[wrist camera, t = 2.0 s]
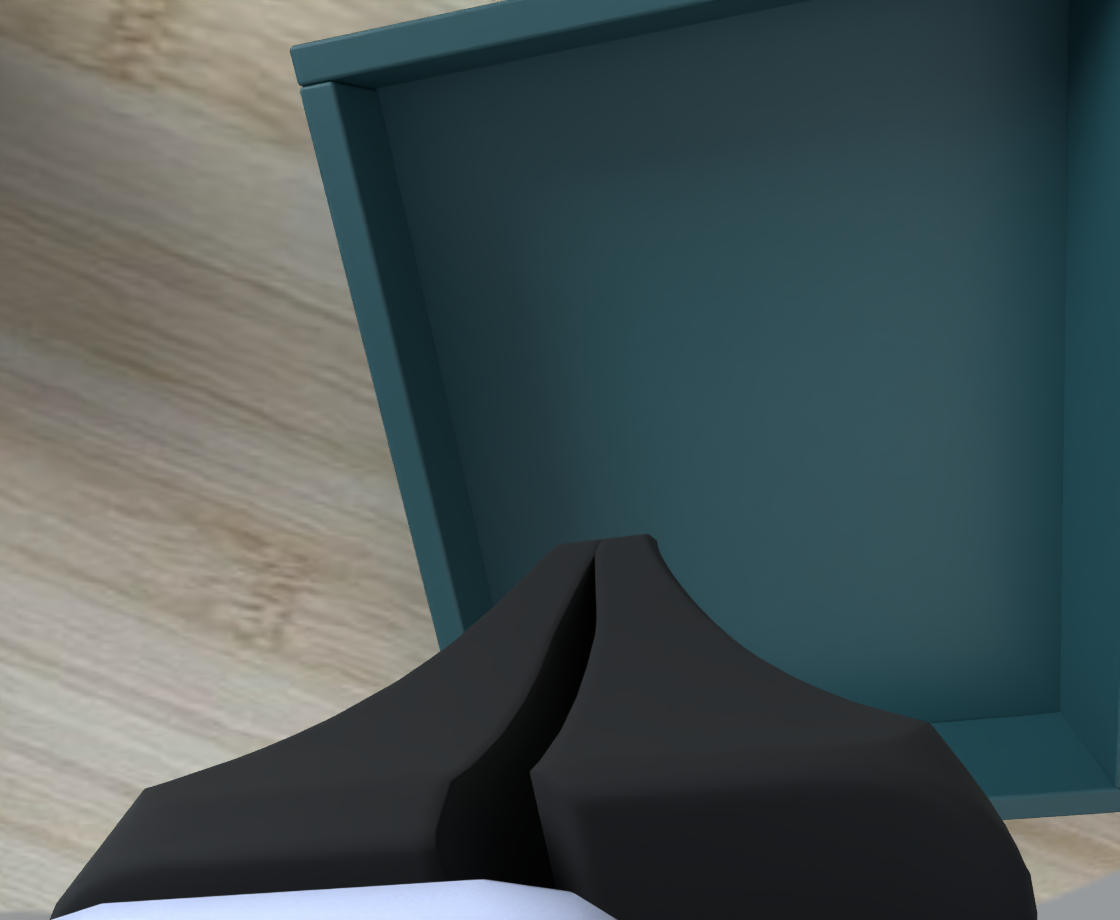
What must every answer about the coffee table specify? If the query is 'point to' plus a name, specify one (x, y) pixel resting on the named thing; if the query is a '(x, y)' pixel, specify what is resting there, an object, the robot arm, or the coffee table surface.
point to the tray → (766, 333)
